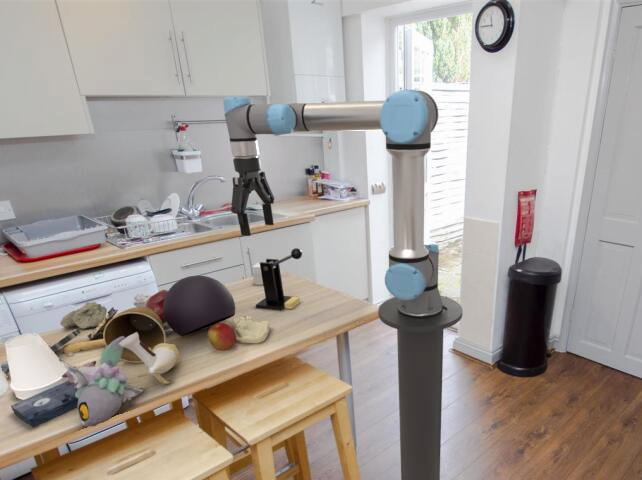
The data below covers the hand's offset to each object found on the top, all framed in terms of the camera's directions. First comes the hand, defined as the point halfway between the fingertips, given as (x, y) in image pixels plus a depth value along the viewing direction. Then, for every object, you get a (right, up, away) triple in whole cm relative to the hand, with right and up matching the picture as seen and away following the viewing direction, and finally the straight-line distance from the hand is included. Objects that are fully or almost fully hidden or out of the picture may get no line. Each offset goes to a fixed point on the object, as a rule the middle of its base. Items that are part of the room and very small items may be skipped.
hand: (258, 230), depth 142 cm
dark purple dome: (-14, -30, -4) cm, 33 cm away
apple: (-8, -36, -6) cm, 37 cm away
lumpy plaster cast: (-2, -34, -2) cm, 34 cm away
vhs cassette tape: (-41, -47, -29) cm, 69 cm away
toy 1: (-58, -37, -9) cm, 70 cm away
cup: (-47, -34, -32) cm, 67 cm away
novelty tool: (-27, -31, +3) cm, 41 cm away
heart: (-39, -25, +10) cm, 48 cm away
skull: (-40, -19, +15) cm, 47 cm away
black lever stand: (0, -21, +21) cm, 30 cm away
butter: (+6, -22, +19) cm, 30 cm away
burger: (-48, -29, -3) cm, 56 cm away
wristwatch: (-62, -44, -23) cm, 79 cm away
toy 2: (-30, -43, -32) cm, 61 cm away
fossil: (-57, -22, +9) cm, 61 cm away
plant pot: (-33, -28, -4) cm, 44 cm away
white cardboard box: (-10, -11, +41) cm, 44 cm away
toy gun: (-22, -31, -27) cm, 47 cm away
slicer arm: (+6, -9, +12) cm, 16 cm away
